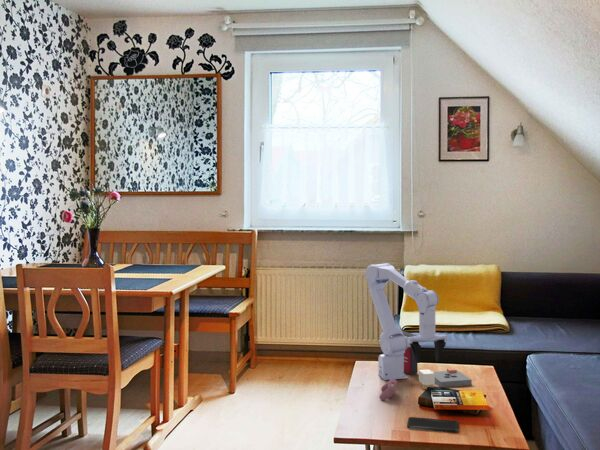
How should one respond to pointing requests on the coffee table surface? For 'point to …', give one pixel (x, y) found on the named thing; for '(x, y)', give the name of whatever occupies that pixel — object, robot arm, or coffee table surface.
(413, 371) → the dark grey red box
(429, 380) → the white rectangular box
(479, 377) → the coffee table surface
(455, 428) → the phone
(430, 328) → the robot arm
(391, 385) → the pink lumpy figure
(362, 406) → the coffee table surface
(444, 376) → the socket
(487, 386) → the coffee table surface
